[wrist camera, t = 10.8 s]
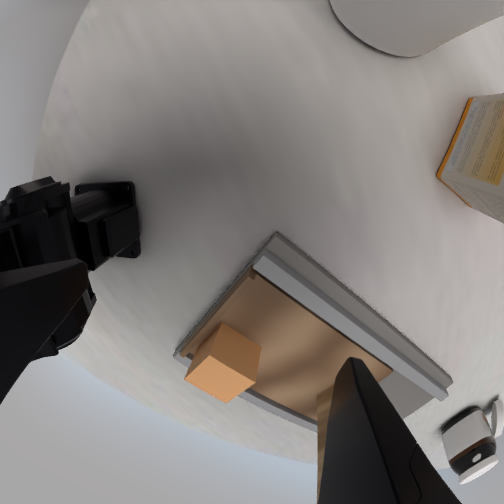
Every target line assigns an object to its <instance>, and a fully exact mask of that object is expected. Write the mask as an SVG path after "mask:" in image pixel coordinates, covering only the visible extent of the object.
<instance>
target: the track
mask: <svg viewBox="0 0 504 504" xmlns="http://www.w3.org/2000/svg"><path fill="white" fill-rule="evenodd" d="M251 265H253V268H254V269H255V270H257V271H258V272H259V273H261V274H262V275H263V276H265V277H266V278H267V279H269V280H270V281H272V282H273V283H274V284H276V285H277V286H278V287H280V288H281V289H283V290H284V291H285V292H287V293H288V294H289V295H291V296H292V297H294V298H295V299H296V300H298V301H299V302H301V303H302V304H303V305H305V306H306V307H307V308H309V309H310V310H312V311H313V312H314V313H316V314H317V315H319V316H320V317H321V318H323V319H324V320H326V321H327V322H328V323H330V324H331V325H332V326H334V327H335V328H337V329H338V330H339V331H341V332H342V333H344V334H345V335H347V336H348V337H349V338H351V339H352V340H354V341H355V342H356V343H358V344H359V345H361V346H362V347H363V348H365V349H366V350H368V351H369V352H371V353H372V354H373V355H375V356H376V357H378V358H379V359H380V360H382V361H383V362H385V363H386V364H388V365H389V366H390V367H392V368H393V371H394V372H393V373H391V374H390V375H389V376H387V377H386V378H384V379H383V380H382V381H380V382H379V385H380V386H381V388H382V389H383V391H384V392H385V394H386V395H387V397H388V398H389V400H390V401H391V403H392V404H393V406H394V407H395V409H396V410H397V412H398V413H399V415H400V416H401V418H402V419H404V418H405V417H407V416H408V415H410V414H411V413H413V412H414V411H416V410H417V409H419V408H420V407H422V406H423V405H425V404H426V403H427V402H429V401H430V400H432V399H433V398H434V397H435V398H437V399H438V400H440V401H443V400H444V399H445V398H447V397H448V396H449V395H448V392H447V390H446V388H447V387H449V386H450V385H451V384H452V383H453V380H452V378H451V377H450V376H449V375H448V374H447V373H446V372H445V371H444V370H443V369H441V368H440V367H439V366H438V365H437V364H436V363H435V362H434V361H432V360H431V359H430V358H429V357H428V356H427V355H426V354H425V353H423V352H422V351H421V350H420V349H419V348H418V347H417V346H415V345H414V344H413V343H412V342H411V341H410V340H409V339H407V338H406V337H405V336H404V335H403V334H402V333H400V332H399V331H398V330H397V329H396V328H395V327H393V326H392V325H391V324H390V323H389V322H388V321H386V320H385V319H384V318H383V317H382V316H380V315H379V314H378V313H377V312H376V311H374V310H373V309H372V308H371V307H370V306H369V305H367V304H366V303H365V302H364V301H362V300H361V299H360V298H359V297H358V296H356V295H355V294H354V293H353V292H352V291H350V290H349V289H348V288H347V287H345V286H344V285H343V284H342V283H341V282H339V281H338V280H337V279H336V278H334V277H333V276H332V275H331V274H329V273H328V272H327V271H326V270H324V269H323V268H322V267H321V266H319V265H318V264H317V263H316V262H314V261H313V260H312V259H311V258H309V257H308V256H307V255H306V254H304V253H303V252H302V251H301V250H299V249H298V248H297V247H295V246H294V245H293V244H292V243H290V242H289V241H288V240H286V239H285V238H284V237H283V236H281V235H280V234H279V233H277V232H276V233H275V234H274V235H273V236H272V237H271V239H270V240H269V241H268V242H267V243H266V244H265V246H264V247H263V248H262V249H261V250H260V252H259V253H258V254H257V255H256V256H255V257H254V259H253V260H252V261H251V262H250V263H249V264H248V266H247V267H246V268H245V269H244V270H243V272H242V273H241V274H240V275H239V276H238V277H237V279H236V280H235V281H234V282H233V283H232V285H231V286H230V287H229V288H228V289H227V290H226V292H225V293H224V294H223V295H222V296H221V297H220V299H219V300H218V301H217V302H216V303H215V304H214V306H213V307H212V308H211V309H210V310H209V312H208V313H207V314H206V315H205V316H204V317H203V319H202V320H201V321H200V322H199V323H198V324H197V326H196V327H195V328H194V329H193V330H192V331H191V333H190V334H189V335H188V336H187V337H186V338H185V340H184V341H183V342H182V343H181V344H180V345H179V347H178V348H177V349H176V350H175V352H174V354H173V356H174V359H176V360H177V361H179V362H180V363H182V364H183V365H185V366H187V367H188V368H189V367H190V364H191V362H192V360H193V357H194V355H193V354H191V353H190V352H189V353H188V354H187V355H186V356H185V357H184V358H183V357H181V356H180V355H179V354H180V352H181V350H182V348H183V346H184V344H185V342H186V341H187V340H188V338H189V337H190V336H191V335H192V334H193V333H194V332H195V330H196V329H197V328H198V327H199V326H200V325H201V323H202V322H203V321H204V320H205V319H206V318H207V317H208V315H209V314H210V313H211V312H212V311H213V310H214V308H215V307H216V306H217V305H218V304H219V303H220V302H221V300H222V299H223V298H224V297H225V296H226V295H227V293H228V292H229V291H230V290H231V289H232V288H233V286H234V285H235V284H236V283H237V282H238V281H239V279H240V278H241V277H242V276H243V275H244V274H245V272H246V271H247V270H248V269H249V268H250V267H251ZM237 396H238V397H240V398H242V399H244V400H246V401H248V402H250V403H252V404H254V405H256V406H258V407H260V408H262V409H264V410H266V411H268V412H270V413H272V414H275V415H277V416H279V417H281V418H283V419H286V420H288V421H290V422H292V423H295V424H297V425H300V426H302V427H304V428H307V429H309V430H312V431H314V432H317V433H318V430H317V421H316V420H314V419H312V418H310V417H307V416H305V415H303V414H301V413H298V412H296V411H294V410H292V409H290V408H288V407H286V406H284V405H282V404H280V403H277V402H275V401H273V400H271V399H270V398H268V397H266V396H264V395H262V394H260V393H258V392H256V391H254V390H252V389H250V388H247V389H246V390H245V391H243V392H242V393H240V394H239V395H237Z"/></svg>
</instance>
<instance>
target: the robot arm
mask: <svg viewBox="0 0 504 504" xmlns="http://www.w3.org/2000/svg"><path fill="white" fill-rule="evenodd" d="M127 185H128V186H129V190H128V189H127ZM79 188H80V191H79ZM69 190H70V184H69V182H68V183H63V184H61V182H55V181H54V180H53V178H52V177H51V176H49V177H46V178H42V179H39V180H35V181H32V182H29V183H25V184H22V185H19V186H16V187H13V188H11V189H10V190H9V192H8V194H7V196H6V198H5V200H3V201H1V202H0V404H1V403H2V401H3V400H4V398H5V397H6V395H7V393H8V392H9V390H10V389H11V387H12V386H13V385H14V383H15V382H16V380H17V379H18V377H19V376H20V375H21V373H22V372H23V371H24V369H25V368H26V366H27V365H28V364H29V363H30V362H31V361H33V360H37V359H40V358H43V357H48V356H55V355H57V354H58V353H59V351H58V350H60V349H63V348H65V347H67V346H69V345H71V344H72V343H73V342H74V341H76V339H77V338H78V337H79V336H80V335H81V333H82V331H83V328H84V326H85V324H86V322H87V319H88V317H89V316H90V313H91V311H92V309H93V307H94V305H95V303H96V301H97V299H96V296H95V293H93V291H92V288H91V284H90V281H89V278H88V273H89V272H90V271H94V270H96V269H97V268H98V267H100V266H101V265H102V264H103V263H105V262H106V261H107V260H109V259H110V258H113V257H114V256H116V257H125V258H137V257H138V256H139V255H140V245H139V227H138V216H137V208H136V205H135V191H134V184H133V183H132V182H131V181H119V182H101V183H86V184H79V185H76V186H75V196H74V197H71V198H70V194H69ZM133 250H134V251H135V252H136V254H135V253H134V252H133ZM318 504H462V503H461V502H460V501H459V500H458V499H457V497H456V496H455V495H454V493H453V492H452V491H451V490H450V488H449V487H448V486H447V484H446V483H445V482H444V480H443V479H442V478H441V476H440V475H439V474H438V472H437V471H436V470H435V468H434V467H433V466H432V464H431V463H430V461H429V460H428V458H427V457H426V455H425V454H424V452H423V451H422V449H421V447H420V446H419V444H418V443H417V441H416V440H415V438H414V437H413V435H412V433H411V432H410V430H409V429H408V427H407V426H406V424H405V423H404V421H403V419H402V418H401V416H400V415H399V413H398V412H397V410H396V409H395V407H394V406H393V404H392V403H391V401H390V400H389V398H388V397H387V395H386V394H385V392H384V391H383V389H382V388H381V386H380V385H379V383H378V382H377V380H376V379H375V377H374V376H373V375H372V373H371V372H370V370H369V369H368V367H367V366H366V364H365V363H364V361H363V360H362V359H360V358H355V357H349V358H347V360H346V361H345V363H344V364H343V366H342V367H341V369H340V370H339V372H338V373H337V375H336V378H335V383H334V389H333V394H332V400H331V405H330V411H329V416H328V421H327V431H326V442H325V452H324V461H323V469H322V477H321V484H320V491H319V498H318Z"/></svg>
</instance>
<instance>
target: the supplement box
mask: <svg viewBox="0 0 504 504" xmlns="http://www.w3.org/2000/svg"><path fill="white" fill-rule="evenodd" d="M436 176H437V178H438V179H439V180H441V181H442V182H443V183H444V184H445V185H446V186H448V187H449V188H450V189H451V190H452V191H453V192H455V193H456V194H457V195H458V196H459V197H460V198H461V199H462V200H463V201H464V202H465V203H467V205H468V206H469V207H471V208H473V209H475V210H477V211H480V212H482V213H484V214H486V215H488V216H490V217H492V218H494V219H496V220H498V221H500V222H502V223H504V93H503V94H495V95H487V96H480V97H473V98H469V100H468V103H467V105H466V108H465V111H464V114H463V116H462V119H461V121H460V124H459V126H458V129H457V131H456V133H455V136H454V138H453V140H452V143H451V145H450V148H449V150H448V152H447V154H446V156H445V158H444V160H443V163H442V164H441V167H440V168H439V171H438V173H437V175H436Z"/></svg>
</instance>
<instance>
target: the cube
mask: <svg viewBox="0 0 504 504" xmlns="http://www.w3.org/2000/svg"><path fill="white" fill-rule="evenodd" d="M260 353H261V347H260V346H259V345H257V344H256V343H254V342H252V341H251V340H249V339H248V338H246V337H245V336H243V335H241V334H240V333H238V332H237V331H235V330H234V329H232V328H231V327H229V326H228V325H226V324H225V323H223V322H221V323H220V324H219V325H218V326H217V327H216V328H215V330H214V331H213V332H212V333H211V334H210V335H209V336H208V337H207V338H206V339H205V340H204V341H203V342H202V343H201V344H200V345H199V347H198V348H197V350H196V353H195V355H194V357H193V360H192V362H191V364H190V367H189V369H188V371H187V373H186V376H185V378H184V380H186V381H188V382H189V383H191V384H193V385H194V386H196V387H198V388H199V389H201V390H203V391H205V392H206V393H208V394H210V395H212V396H214V397H215V398H217V399H219V400H221V401H223V402H225V403H227V402H229V401H230V400H232V399H233V398H234V397H236V396H237V395H239V394H240V393H242V392H243V391H245V390H246V389H247V388H249V387H250V386H252V385H253V384H254V383H256V378H257V372H258V366H259V359H260Z"/></svg>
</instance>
